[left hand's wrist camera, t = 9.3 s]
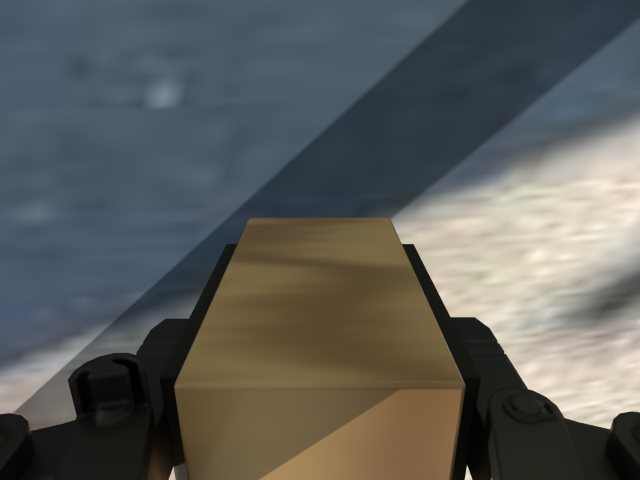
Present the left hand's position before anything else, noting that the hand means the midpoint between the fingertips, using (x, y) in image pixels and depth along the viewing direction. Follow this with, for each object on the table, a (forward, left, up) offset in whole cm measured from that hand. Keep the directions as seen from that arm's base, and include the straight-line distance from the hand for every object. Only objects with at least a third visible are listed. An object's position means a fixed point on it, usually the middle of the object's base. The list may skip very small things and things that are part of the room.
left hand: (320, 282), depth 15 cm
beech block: (0, 0, 0) cm, 0 cm away
